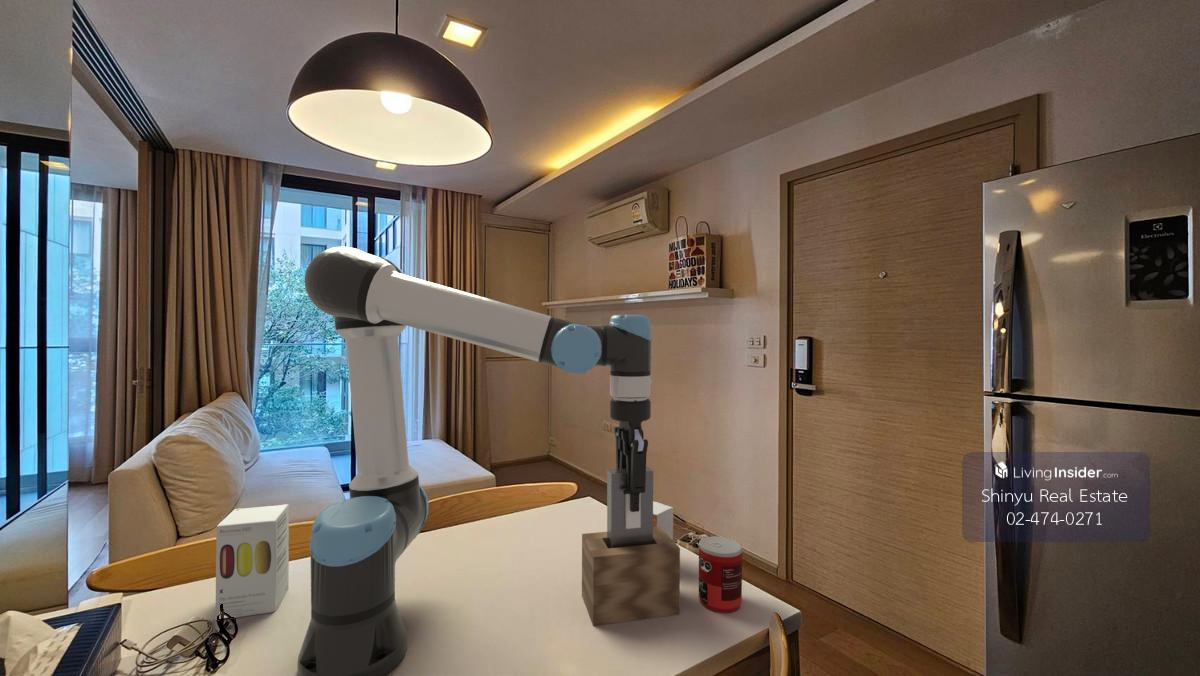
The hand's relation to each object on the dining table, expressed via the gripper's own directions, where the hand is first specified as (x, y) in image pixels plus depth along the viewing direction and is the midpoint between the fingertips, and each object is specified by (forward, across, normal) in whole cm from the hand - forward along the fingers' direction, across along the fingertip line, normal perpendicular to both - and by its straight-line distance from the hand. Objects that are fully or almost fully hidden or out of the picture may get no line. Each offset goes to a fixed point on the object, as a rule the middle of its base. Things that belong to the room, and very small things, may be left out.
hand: (629, 523), depth 92 cm
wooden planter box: (+15, 0, 0) cm, 15 cm away
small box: (+16, +14, -9) cm, 23 cm away
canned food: (+16, -3, -17) cm, 23 cm away
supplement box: (+15, +16, +68) cm, 72 cm away
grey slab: (+4, 0, 0) cm, 4 cm away
